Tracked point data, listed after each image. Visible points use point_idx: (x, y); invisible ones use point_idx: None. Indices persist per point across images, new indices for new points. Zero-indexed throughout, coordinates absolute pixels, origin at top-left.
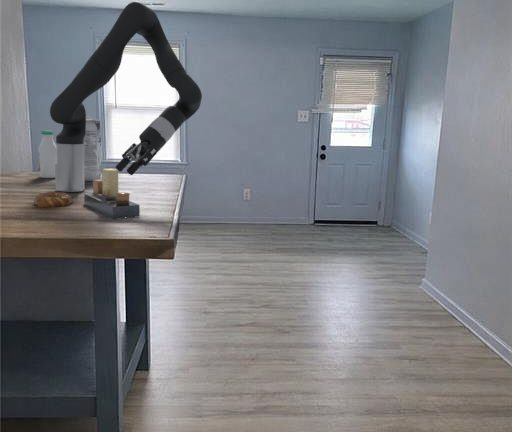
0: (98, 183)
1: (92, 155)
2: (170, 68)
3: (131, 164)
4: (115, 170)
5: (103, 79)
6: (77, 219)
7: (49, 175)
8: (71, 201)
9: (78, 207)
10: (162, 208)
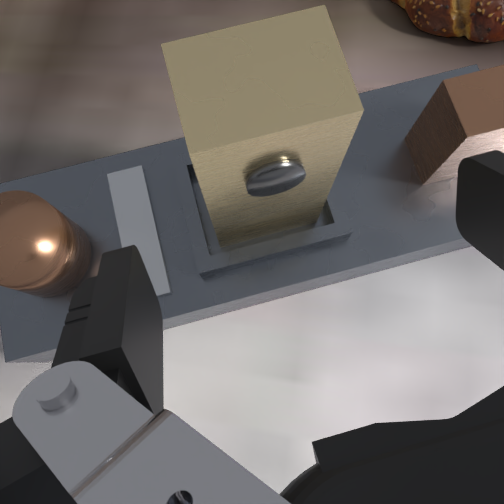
0: (437, 94)
1: None
2: None
3: (123, 303)
4: (182, 126)
5: None
6: (68, 63)
7: None
8: (472, 38)
9: (356, 75)
10: None
